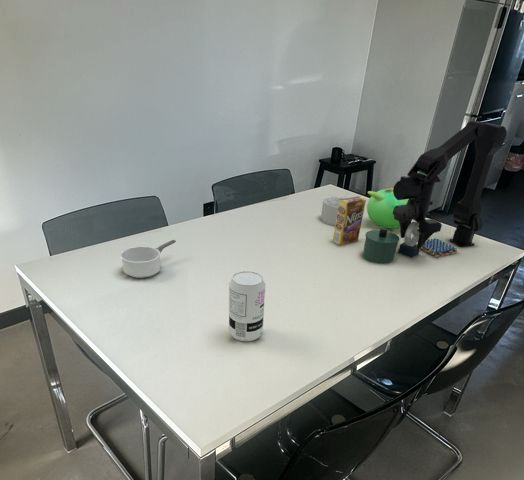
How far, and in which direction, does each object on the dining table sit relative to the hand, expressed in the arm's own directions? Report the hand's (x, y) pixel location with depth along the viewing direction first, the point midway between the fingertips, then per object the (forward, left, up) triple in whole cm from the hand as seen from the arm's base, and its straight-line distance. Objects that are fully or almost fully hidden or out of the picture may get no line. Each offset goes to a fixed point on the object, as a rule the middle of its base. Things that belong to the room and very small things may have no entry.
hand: (410, 242), depth 155 cm
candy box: (+16, -15, -4) cm, 22 cm away
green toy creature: (-8, -25, -4) cm, 27 cm away
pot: (+12, 0, -4) cm, 13 cm away
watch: (0, 0, -4) cm, 4 cm away
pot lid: (+12, 0, +3) cm, 12 cm away
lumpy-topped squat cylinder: (+9, -35, -4) cm, 36 cm away
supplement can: (+70, +31, -4) cm, 77 cm away
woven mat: (-12, 0, -4) cm, 13 cm away
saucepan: (+85, -12, -4) cm, 86 cm away
